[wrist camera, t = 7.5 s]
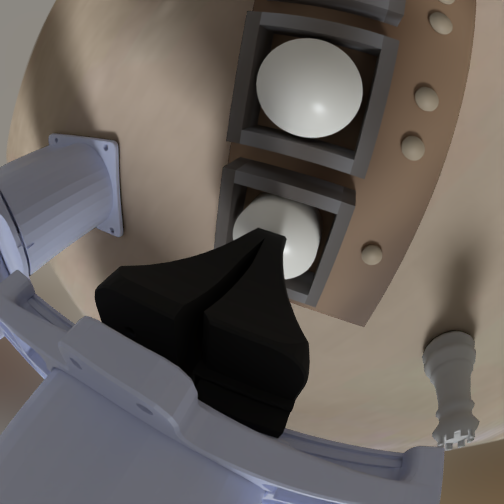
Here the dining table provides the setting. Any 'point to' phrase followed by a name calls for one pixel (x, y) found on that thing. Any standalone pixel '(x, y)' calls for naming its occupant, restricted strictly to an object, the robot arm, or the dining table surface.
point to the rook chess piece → (452, 387)
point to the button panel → (353, 138)
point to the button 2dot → (309, 87)
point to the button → (285, 228)
